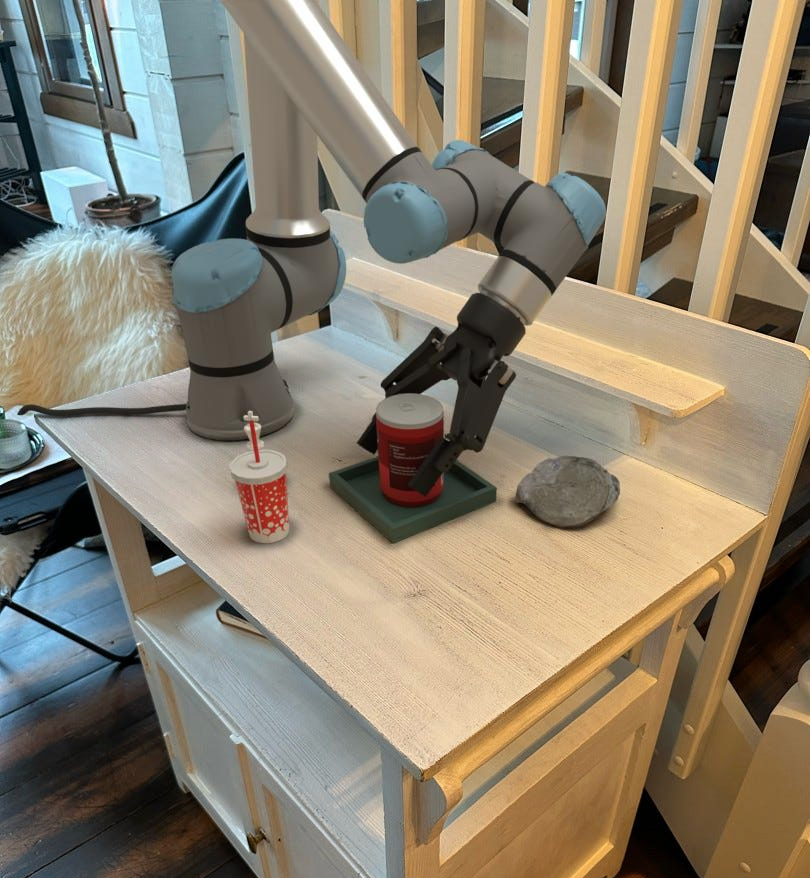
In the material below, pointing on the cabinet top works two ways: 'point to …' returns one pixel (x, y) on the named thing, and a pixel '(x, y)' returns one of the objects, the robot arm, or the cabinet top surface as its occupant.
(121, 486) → the cabinet top surface
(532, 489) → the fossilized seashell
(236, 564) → the cabinet top surface
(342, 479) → the tray
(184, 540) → the cabinet top surface
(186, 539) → the cabinet top surface
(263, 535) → the beverage cup
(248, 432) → the chess piece
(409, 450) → the canned food
